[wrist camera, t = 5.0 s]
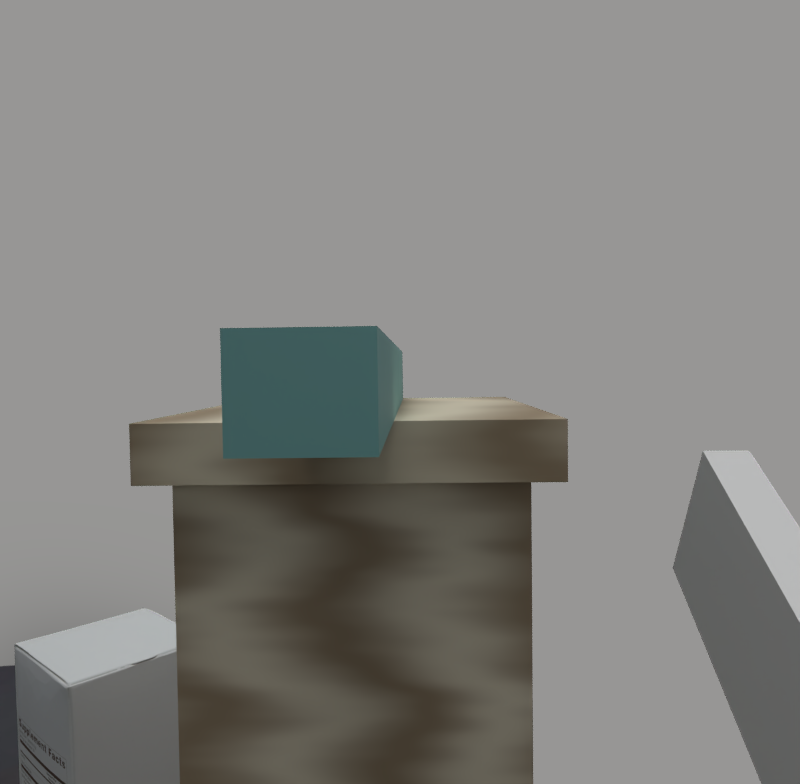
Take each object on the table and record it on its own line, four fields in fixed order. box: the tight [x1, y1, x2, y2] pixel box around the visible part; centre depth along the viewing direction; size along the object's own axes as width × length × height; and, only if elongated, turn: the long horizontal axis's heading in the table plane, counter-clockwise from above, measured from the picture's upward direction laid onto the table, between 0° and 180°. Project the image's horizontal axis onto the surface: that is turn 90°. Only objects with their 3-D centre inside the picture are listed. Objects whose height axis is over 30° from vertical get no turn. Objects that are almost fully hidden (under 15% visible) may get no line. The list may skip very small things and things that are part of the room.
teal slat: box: [220, 326, 403, 459], centre depth 26 cm, size 3×24×2 cm, turn 179°
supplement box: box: [14, 608, 180, 784], centre depth 45 cm, size 9×9×15 cm
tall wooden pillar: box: [129, 397, 568, 784], centre depth 31 cm, size 14×16×30 cm
